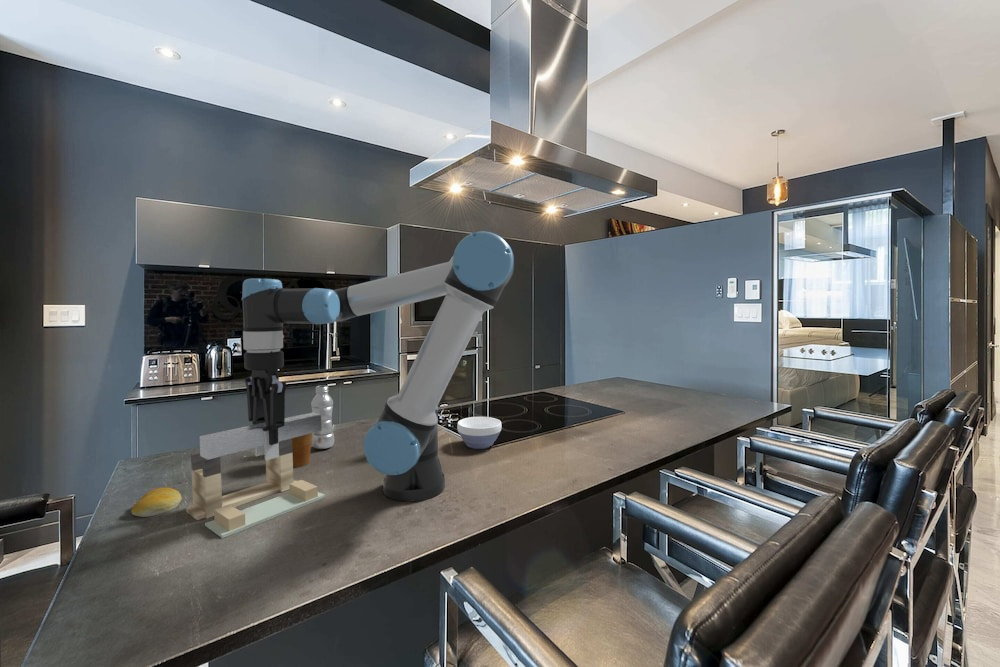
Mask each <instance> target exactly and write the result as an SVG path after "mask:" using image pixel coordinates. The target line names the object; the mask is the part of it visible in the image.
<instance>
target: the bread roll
mask: <svg viewBox="0 0 1000 667" xmlns="http://www.w3.org/2000/svg"><path fill="white" fill-rule="evenodd" d="M182 499H183V498H182V494H181V493H180V492H179V490H177V489H174V488H171V487H159V488H155V489H152V490H150V491H148V492H146V493H145V494H143V495H142V496H141V497H140V498H139V500H138V501H137V502H136V503H135V504H134V505H133V506H132V508H131V514H132V515H133V516H136V517H142V518H147V517H148V518H149V517H155V516H158V515H162V514H165V513H167V512H171V511H173V510H174V509H176V508H177V507H178V506H179V505H180V504H181V502H182Z"/></svg>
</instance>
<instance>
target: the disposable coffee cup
mask: <svg viewBox="0 0 1000 667" xmlns="http://www.w3.org/2000/svg"><path fill="white" fill-rule="evenodd" d="M312 438H313V433H311V434H307V435H303V436H299V437H295V438H292V452H293V468H298V467H303V466H305V465H308V464H309V463H310V459H311V458H310V457H311V450H312Z"/></svg>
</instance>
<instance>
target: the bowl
mask: <svg viewBox="0 0 1000 667" xmlns="http://www.w3.org/2000/svg"><path fill="white" fill-rule="evenodd" d="M456 427H457V432H458V434H459V436H460V437H461V440H462V441H463V442H464V443H465V445H466V447H468V448H470V449H475V450H482V449H488V448H490V446H491V447H492V446H493V445H494V442H495V441H497V439H498V436H499V435H500V433H501V431H502V421H501V420H500V419H498V418H494V417H491V416H471V417H470V416H469V417H465V418H462V419H460V420H458V421H457V426H456Z"/></svg>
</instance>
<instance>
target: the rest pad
mask: <svg viewBox="0 0 1000 667" xmlns="http://www.w3.org/2000/svg"><path fill="white" fill-rule="evenodd" d="M289 485H290V489H289V492H288V493H285V494H282V495H279V496H277V497H274V498H270V499H269V500H265V501H263V502H260V503H257V504H254V505H252V506H249V507H246V508H243V509H241V510H240V509H238V508H237V507H233V506H232V505H230V504H229V505H226V506H224V507H221V508H218V509H215V510H214V516H213V518H214V519H213V520H211V521H207V522H205V527H206V528H207V529H209V530H210V531H212V532H213V533H215V534H216V535H218V536H219V537H220V538H221V539H224V538H227V537H229V536H232V535H234V534H237V533H239V532H242V531H244V530H246V529H249V528H252V527H254V526H257V525H259V524H262V523H264V522H267V521H269V520H272V519H274V518H276V517H279V516H282V515H285V514H287V513H289V512H292V511H294V510H295V511H296V510H297V509H299V508H302V507H304V506H306V505H309V504H311V503H314V502H317V501H319V500H322V499H325V498H326V494H325V493H322V492H319V491H318V490H319V487H318V485H315V484H313V483H311V482H308V481H306V480H303V479H299V480H296V482H293V483H290V484H289Z"/></svg>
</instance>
